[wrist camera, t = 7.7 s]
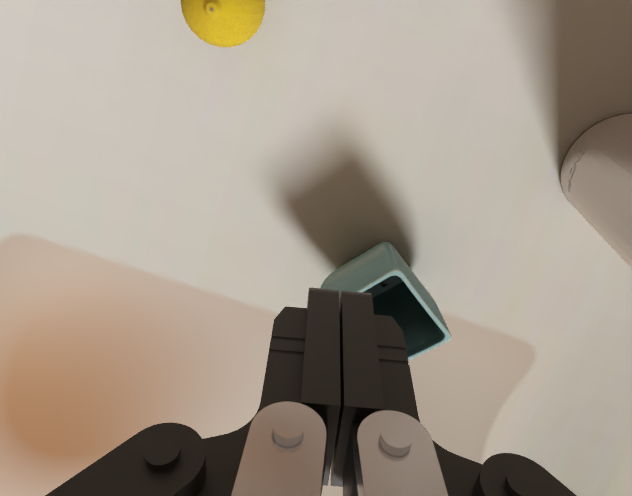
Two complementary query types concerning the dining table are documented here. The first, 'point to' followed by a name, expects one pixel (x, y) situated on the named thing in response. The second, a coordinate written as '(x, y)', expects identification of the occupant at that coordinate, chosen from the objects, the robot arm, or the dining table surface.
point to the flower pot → (394, 296)
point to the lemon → (223, 20)
